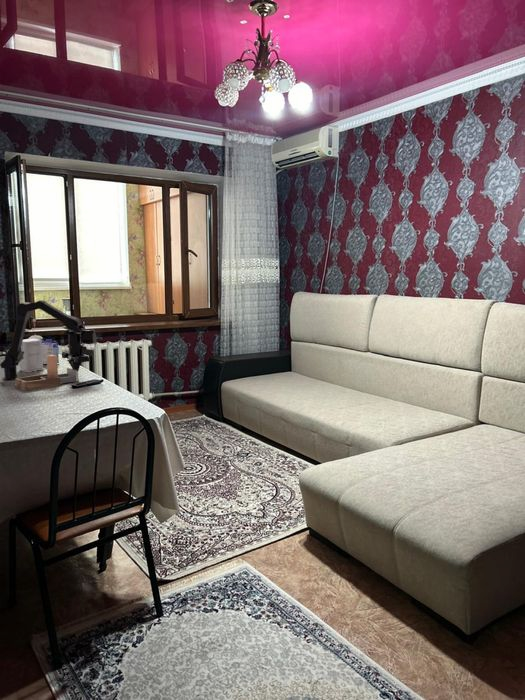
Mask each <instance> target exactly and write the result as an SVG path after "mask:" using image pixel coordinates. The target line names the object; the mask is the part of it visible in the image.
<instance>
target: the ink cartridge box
mask: <svg viewBox="0 0 525 700" xmlns="http://www.w3.org/2000/svg"><path fill="white" fill-rule="evenodd" d="M52 341H53V339H51V338H50V339H49V338H48V339H47V338H46V340H45V341H44V342H45V343H44V342H43V343H42V342H41V344H42V358H43V364H47V357H46V356H47V355H57V363H59V364H60V361H59V343H57V342H52Z"/></svg>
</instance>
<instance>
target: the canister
mask: <svg viewBox="0 0 525 700" xmlns="http://www.w3.org/2000/svg"><path fill="white" fill-rule="evenodd" d="M46 357H47V365H46V372H47V373H46V374H47V378H55V377H58V374H59V373H58V372H59V369H58V364H57V355H47V356H46Z"/></svg>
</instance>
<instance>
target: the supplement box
mask: <svg viewBox="0 0 525 700" xmlns="http://www.w3.org/2000/svg"><path fill="white" fill-rule="evenodd" d="M41 340H42V339H40V340H39V339H35V338H33V339H28V338H26V339H24V338H23V341H22V345H21V350H22V351H24V354H23V359H21V361H20V362H19V370H20V371H21V370H22V372H24V373H26V372H28V373H33V372H32V371H34V372H38V371H37V370H41V371H44V365H43V358H42V344H41V343H42V342H41Z"/></svg>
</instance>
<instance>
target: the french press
mask: <svg viewBox="0 0 525 700" xmlns="http://www.w3.org/2000/svg"><path fill="white" fill-rule="evenodd" d="M32 322H34V326H33V327H34V328H36V326H35V325H36V324H35V323H36V322H37V319H36V318H34V319H32ZM33 338H35V339H39V340H41V343H45V342H46V341H45V340H44V339H43V337H42V336H41V335H36V334H34V335H31V336H30V337H28V338H27V339H33Z"/></svg>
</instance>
